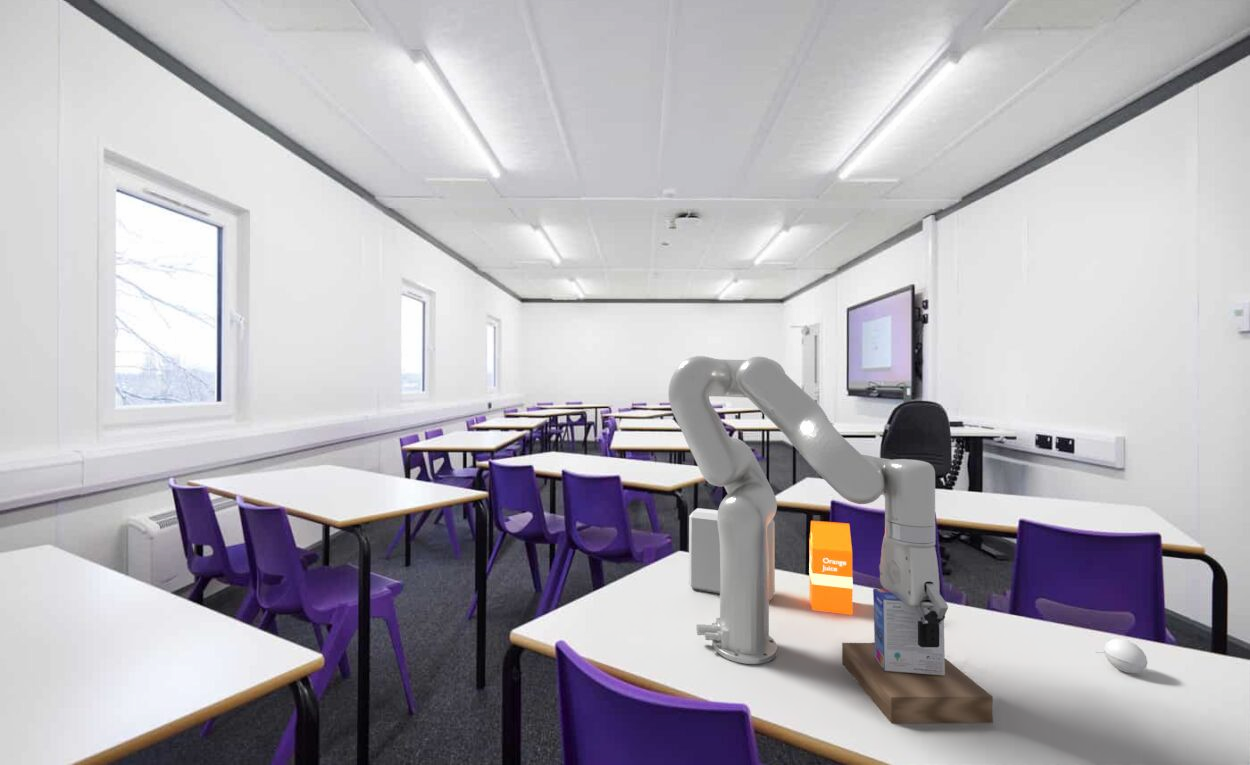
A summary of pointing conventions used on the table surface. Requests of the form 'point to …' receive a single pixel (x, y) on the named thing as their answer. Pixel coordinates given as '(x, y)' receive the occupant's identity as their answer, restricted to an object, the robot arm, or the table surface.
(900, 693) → the walnut plinth
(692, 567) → the bevelled white case
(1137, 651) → the white egg-shaped piece
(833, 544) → the orange juice
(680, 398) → the robot arm
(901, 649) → the ink cartridge box
